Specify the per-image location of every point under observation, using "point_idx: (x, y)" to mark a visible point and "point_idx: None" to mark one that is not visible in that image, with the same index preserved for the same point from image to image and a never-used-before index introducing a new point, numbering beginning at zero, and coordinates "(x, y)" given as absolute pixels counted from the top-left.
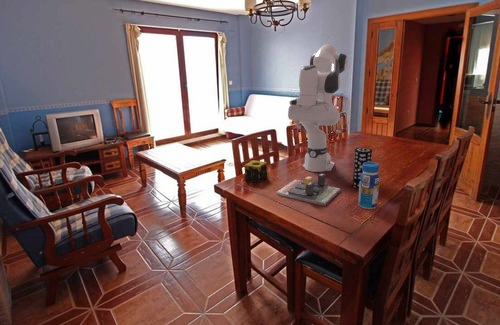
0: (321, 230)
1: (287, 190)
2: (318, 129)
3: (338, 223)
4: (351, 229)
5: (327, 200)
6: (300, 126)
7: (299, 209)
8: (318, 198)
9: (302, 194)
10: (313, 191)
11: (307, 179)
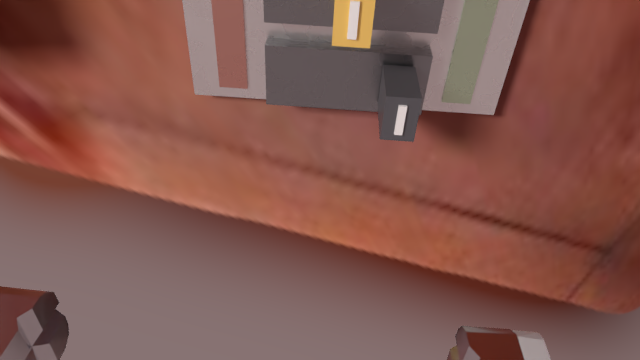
0: (504, 265)
1: (239, 56)
2: (541, 347)
3: (564, 213)
4: (614, 229)
5: (504, 80)
6: (24, 356)
7: (382, 177)
8: (450, 82)
9: (359, 108)
10: (415, 73)
11: (354, 45)
